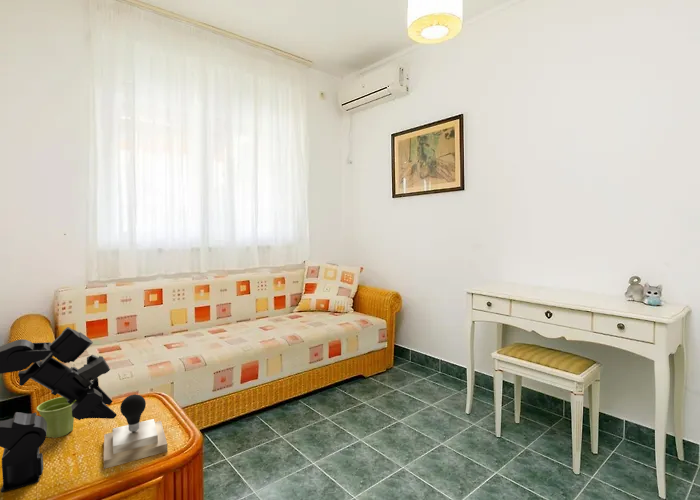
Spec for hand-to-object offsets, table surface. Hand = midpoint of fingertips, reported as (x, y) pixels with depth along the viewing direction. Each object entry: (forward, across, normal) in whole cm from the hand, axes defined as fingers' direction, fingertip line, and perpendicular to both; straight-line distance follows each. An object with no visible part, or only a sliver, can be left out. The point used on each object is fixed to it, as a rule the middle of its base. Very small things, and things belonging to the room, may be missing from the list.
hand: (113, 409), depth 100 cm
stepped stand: (+12, 0, +5) cm, 12 cm away
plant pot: (0, +20, +16) cm, 26 cm away
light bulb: (+9, 0, +2) cm, 9 cm away
